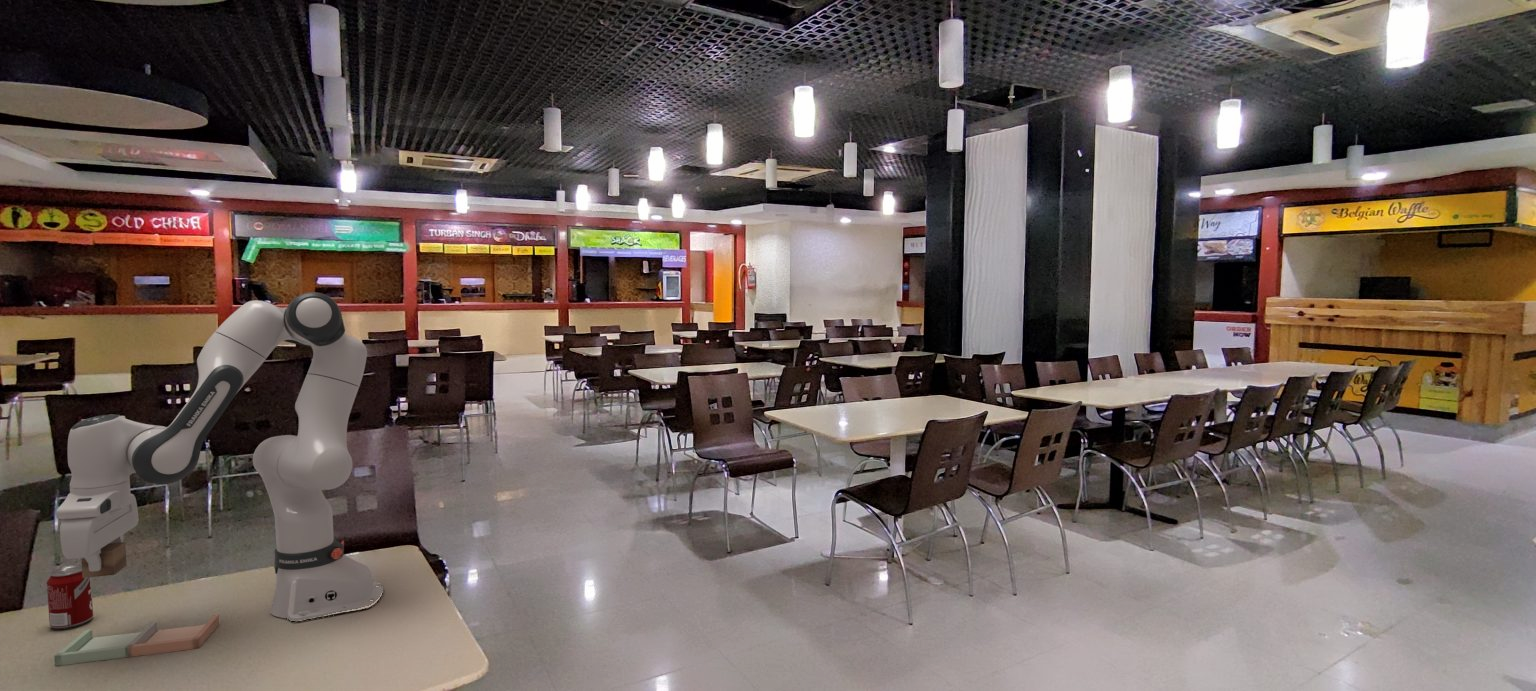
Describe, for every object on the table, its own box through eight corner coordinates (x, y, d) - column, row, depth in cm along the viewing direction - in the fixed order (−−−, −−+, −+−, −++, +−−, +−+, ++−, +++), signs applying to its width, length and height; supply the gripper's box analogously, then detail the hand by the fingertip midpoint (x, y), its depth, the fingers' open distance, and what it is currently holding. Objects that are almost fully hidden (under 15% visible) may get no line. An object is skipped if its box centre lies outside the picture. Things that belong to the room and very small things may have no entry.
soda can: (66, 632, 152) (62, 577, 151) (41, 629, 153) (37, 574, 152) (101, 618, 158) (98, 565, 157) (77, 614, 160) (73, 562, 159)
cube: (126, 565, 149) (125, 542, 149) (114, 574, 144) (112, 550, 144) (96, 568, 147) (94, 544, 147) (82, 577, 143) (80, 553, 142)
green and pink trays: (219, 623, 157) (218, 614, 157) (198, 648, 147) (198, 638, 147) (86, 638, 149) (86, 629, 149) (54, 666, 139) (54, 656, 139)
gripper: (109, 483, 153) (113, 547, 154) (50, 513, 134) (55, 585, 135) (146, 481, 155) (149, 544, 156) (92, 511, 136) (97, 582, 137)
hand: (105, 563), depth 146 cm, fingers closed on cube, 5 cm apart
